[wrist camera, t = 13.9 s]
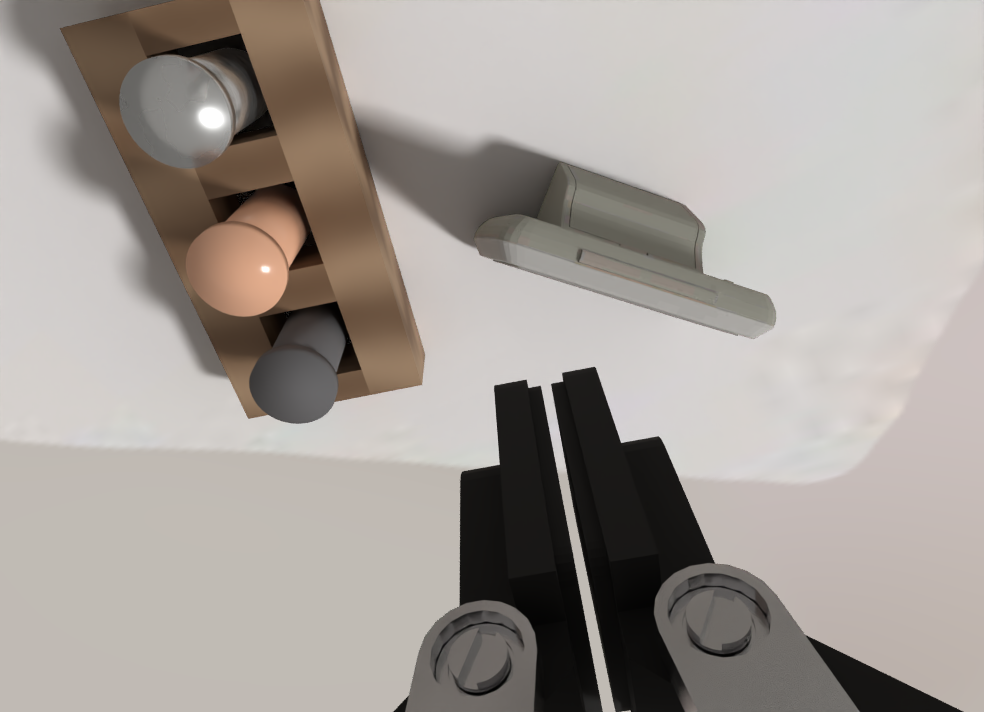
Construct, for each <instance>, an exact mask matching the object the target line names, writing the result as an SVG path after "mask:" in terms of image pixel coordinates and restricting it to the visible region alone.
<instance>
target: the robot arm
mask: <svg viewBox="0 0 984 712" xmlns="http://www.w3.org/2000/svg"><path fill="white" fill-rule="evenodd" d="M562 375H563V382H559V383H553V384H551V386H552V392H553V397H554V403H555V408H556V414H557V419H558V425H559V430H560V436H561V441H562V447H563V452H564V458H565V463H566V469H567V474H568V480H569V485H570V491H571V496H572V502H573V507H574V513H575V517H576V523H577V527H578V532H579V537H580V542H581V547H582V552H583V557H584V561H585V566H586V571H587V576H588V581H589V585H590V591H591V595H592V600H593V605H594V610H595V614H596V620H597V624H598V629H599V634H600V639H601V643H602V649H603V653H604V658H605V663H606V668H607V673H608V677H609V682H610V687H611V692H612V697H613V702H614V706H615V711H616V712H621V711H628V710H631V712H963V711H960V710H959V709H957V708H954V707H952V706H950V705H948V704H946V703H944V702H942V701H940V700H938V699H936V698H934V697H932V696H930V695H928V694H926V693H924V692H922V691H920V690H917V689H915V688H913V687H911V686H909V685H907V684H905V683H903V682H901V681H899V680H897V679H895V678H893V677H891V676H888V675H887V674H884V673H882V672H880V671H878V670H876V669H874V668H872V667H870V666H868V665H866V664H864V663H862V662H860V661H858V660H856V659H853V658H852V657H850V656H847V655H845V654H843V653H841V652H839V651H837V650H835V649H833V648H831V647H829V646H827V645H825V644H823V643H821V642H819V641H817V640H815V639H812V638H810V637H808V636H806V635H805V634H804V633H803V631H802V630H801V629H800V627H799V626H798V625H797V623H796V622H795V620H794V619H793V618H792V616H791V615H790V613H789V612H788V611H787V609H786V608H785V606H784V605H783V603H782V602H781V601H780V599H779V598H778V596H777V595H776V594H775V593H774V592H773V591H772V590H771V589H770V588H769V587H768V586H767V585H766V584H765V582H763V581H762V580H761V579H759V578H757V577H756V576H754V575H752V574H751V573H749V572H748V571H745V570H742V569H739V568H736V567H733V566H730V565H724V564H715V562H714V560H713V558H712V555H711V553H710V551H709V548H708V546H707V544H706V541H705V539H704V537H703V534H702V532H701V530H700V527H699V525H698V523H697V520H696V518H695V516H694V513H693V511H692V509H691V507H690V504H689V502H688V499H687V497H686V495H685V492H684V490H683V488H682V485H681V483H680V481H679V478H678V476H677V474H676V471H675V469H674V467H673V464H672V462H671V460H670V457H669V455H668V453H667V450H666V448H665V446H664V444H663V442H662V440H661V438H660V437H659V436H658V437H653V438H647V439H641V440H636V441H630V442H625V443H621V441H620V438H619V435H618V432H617V430H616V427H615V424H614V421H613V418H612V415H611V412H610V409H609V406H608V403H607V400H606V397H605V394H604V391H603V388H602V385H601V382H600V379H599V376H598V373H597V370H596V368H595V367H591V368H586V369H581V370H575V371H570V372H565V373H562ZM494 392H495V405H496V419H497V432H498V446H499V459H500V465H496V466H491V467H485V468H480V469H474V470H468V471H464V472H462V474H461V481H460V488H461V489H460V606H459V607H457V608H455V609H452V610H450V611H449V612H448V613H446V614H445V615H444V616H443V617H441V618H440V619H439V620H437V621H436V622H435V624H434V625H433V626H432V628H431V629H430V630H429V631H428V633H427V634H426V636H425V637H424V640H423V643H422V645H421V648H420V650H419V653H418V657H417V662H416V666H415V671H414V675H413V679H412V684H411V689H410V693H409V696H408V697H407V698H406V699H405V700H404V701H403V702H402V703H401V704H400V705H399V706H398V708H397V709H396V710H395V711H394V712H603V711H602V706H601V700H600V695H599V690H598V684H597V679H596V674H595V669H594V664H593V658H592V653H591V647H590V642H589V637H588V632H587V626H586V621H585V616H584V610H583V605H582V600H581V595H580V590H579V584H578V579H577V573H576V568H575V563H574V558H573V552H572V547H571V542H570V536H569V531H568V526H567V521H566V515H565V510H564V505H563V500H562V494H561V489H560V484H559V479H558V473H557V468H556V463H555V458H554V452H553V447H552V442H551V437H550V432H549V426H548V421H547V416H546V411H545V405H544V400H543V395H542V390H541V386H537V387H532V388H528V384H527V380H522V381H517V382H511V383H506V384H501V385H495V386H494Z"/></svg>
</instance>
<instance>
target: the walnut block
mask: <svg viewBox="0 0 984 712" xmlns="http://www.w3.org/2000/svg"><path fill="white" fill-rule="evenodd" d="M60 30H61V32H62V34H63V36H64V38H65V40H66V42H67V44H68V46H69V48H70V50H71V53H72V55H73V57H74V59H75V61H76V63H77V65H78V67H79V69H80V71H81V73H82V75H83V77H84V79H85V81H86V84H87V86H88V88H89V90H90V92H91V94H92V96H93V98H94V100H95V102H96V104H97V106H98V108H99V110H100V113H101V115H102V117H103V119H104V121H105V123H106V125H107V127H108V129H109V131H110V133H111V135H112V137H113V139H114V142H115V144H116V146H117V148H118V150H119V152H120V154H121V156H122V158H123V160H124V162H125V164H126V166H127V168H128V171H129V173H130V175H131V177H132V179H133V181H134V183H135V185H136V187H137V189H138V191H139V193H140V195H141V197H142V200H143V202H144V204H145V206H146V208H147V210H148V212H149V214H150V216H151V218H152V220H153V222H154V224H155V226H156V228H157V231H158V233H159V235H160V237H161V239H162V241H163V243H164V245H165V247H166V249H167V251H168V253H169V255H170V257H171V260H172V262H173V264H174V266H175V268H176V270H177V272H178V274H179V276H180V278H181V280H182V282H183V284H184V286H185V289H186V291H187V293H188V295H189V297H190V299H191V301H192V303H193V305H194V307H195V309H196V311H197V313H198V315H199V318H200V320H201V322H202V324H203V326H204V328H205V330H206V332H207V334H208V336H209V338H210V340H211V342H212V344H213V346H214V349H215V351H216V353H217V355H218V357H219V359H220V361H221V363H222V365H223V367H224V369H225V371H226V373H227V375H228V378H229V380H230V382H231V384H232V386H233V388H234V390H235V392H236V394H237V396H238V398H239V400H240V402H241V404H242V407H243V409H244V411H245V413H246V415H247V417H248V419H250V418H255V417H260V416H265V415H268V414H267V413H265V412H264V411H263V410H262V409H261V408H260V407H259V406H258V405H257V404H256V402H255V401H254V399H253V397H252V395H251V392H250V388H249V378H250V374H251V372H252V370H253V368H254V366H255V364H256V362H257V361H258V359H259V358H260V357H261V356H262V355H263V354H264V353H265V352H266V351H268V350H270V349H272V348H273V346H274V344H275V342H276V340H277V338H278V336H279V334H280V332H281V330H282V328H283V326H284V324H285V322H286V321H287V319H286V316H285V314H284V312H287V311H292V310H297V309H302V308H306V307H311V306H316V305H321V304H326V303H331V302H335V301H337V303H338V305H339V308H340V311H341V314H342V316H343V319H344V322H345V325H346V328H347V330H348V333H349V336H350V339H351V342H352V344H348V345H345V347H344V350H343V354H342V357H341V360H340V363H339V366H338V369H337V372H336V374H337V377H338V392H337V395H336V398H335V401H334V402H336V401H342V400H347V399H352V398H357V397H362V396H367V395H372V394H377V393H382V392H388V391H393V390H398V389H403V388H408V387H413V386H418V385H422V379H423V369H424V360H425V353H424V350H423V346H422V343H421V339H420V336H419V333H418V329H417V326H416V323H415V319H414V316H413V313H412V309H411V306H410V303H409V299H408V296H407V292H406V289H405V286H404V282H403V279H402V276H401V272H400V269H399V266H398V262H397V259H396V256H395V252H394V249H393V245H392V242H391V239H390V235H389V232H388V229H387V225H386V222H385V219H384V215H383V212H382V209H381V205H380V202H379V198H378V195H377V192H376V188H375V185H374V182H373V178H372V175H371V172H370V168H369V165H368V161H367V158H366V155H365V151H364V148H363V145H362V141H361V138H360V135H359V131H358V128H357V125H356V121H355V118H354V114H353V111H352V108H351V104H350V101H349V98H348V94H347V91H346V88H345V84H344V81H343V78H342V74H341V71H340V67H339V64H338V61H337V57H336V54H335V51H334V47H333V44H332V41H331V37H330V34H329V31H328V27H327V24H326V20H325V17H324V14H323V10H322V7H321V4H320V0H174V1H170V2H166V3H162V4H157V5H153V6H149V7H145V8H141V9H137V10H133V11H129V12H125V13H120V14H116V15H112V16H108V17H104V18H100V19H96V20H92V21H88V22H84V23H79V24H75V25H71V26H67V27H63V28H60ZM240 33H241V35H242V38H243V41H244V44H245V46H246V49H247V52H248V55H249V58H250V60H251V63H252V66H253V69H254V71H255V74H256V77H257V80H258V83H259V85H260V88H261V91H262V94H263V96H264V99H265V102H266V105H267V108H268V110H269V113H270V116H271V119H272V122H273V124H274V126H271V127H267V128H262V129H258V130H253V131H249V132H245V133H240V134H236V135H234V137H233V140H232V142H231V144H230V145H229V147H228V148H227V150H226V151H225V152H224V153H223V154H222V155H221V156H219V157H218V158H217V159H215V160H214V161H212V162H211V163H209V164H207V165H205V166H202V167H198V168H192V169H184V168H176V167H172V166H169V165H166V164H164V163H161V162H159V161H157V160H156V159H154V158H153V157H151V156H150V155H148V154H147V153H146V152H144V151H143V150H142V149H141V148H140V147H139V146H138V145H137V143H136V142H135V141H134V140H133V138H132V137H131V135H130V134H129V132H128V130H127V129H126V127H125V124H124V122H123V119H122V116H121V112H120V105H119V95H120V89H121V85H122V82H123V80H124V78H125V76H126V75H127V73H128V72H129V71H130V70H131V69H132V67H134V66H135V65H136V64H138V63H139V62H141V61H143V60H145V59H148V58H152V57H156V56H160V55H179V54H178V52H177V48H182V47H186V46H190V45H194V44H198V43H203V42H207V41H211V40H215V39H219V38H224V37H228V36H232V35H236V34H240ZM292 181H294V183H295V186H296V188H297V191H298V194H299V197H300V200H301V202H302V205H303V208H304V211H305V213H306V216H307V219H308V222H309V225H310V227H311V230H312V233H313V236H314V238H315V241H316V244H315V245H311V246H306V247H301V249H300V251H299V252H298V254H297V255H296V257H295V259H294V260H293V262H292V264H291V265H290V267H289V281H288V284H287V287H286V289H285V291H284V293H283V295H282V296H281V298H280V299H279V301H278V302H277V303H276V304H275V305H274V306H273V307H272V308H271V309H269V310H268V311H266V312H264V313H261V314H258V315H255V316H245V317H242V316H234V315H229V314H226V313H223V312H221V311H219V310H217V309H215V308H213V307H211V306H210V305H209V304H207V303H206V302H205V301H204V300H203V299H201V297H200V296H199V295H198V294H197V293H196V291H195V290H194V289H193V287H192V285H191V283H190V281H189V278H188V275H187V271H186V257H187V253H188V250H189V247H190V246H191V244H192V243H193V241H194V240H195V239H196V238H197V237H198V236H199V235H200V234H201V233H202V232H203V231H204V230H205V229H207V228H209V227H210V226H212V225H214V224H217V223H220V222H225V221H226V220H227V219H228V218H229V217H230V216H231V215H232V214H233V213H234V212H235V211H236V210H237V209H238V208H239V207H240V204H239V201H238V199H237V196H236V194H237V193H242V192H246V191H251V190H255V189H260V188H264V187H269V186H273V185H278V184H282V183H287V182H292Z"/></svg>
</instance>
